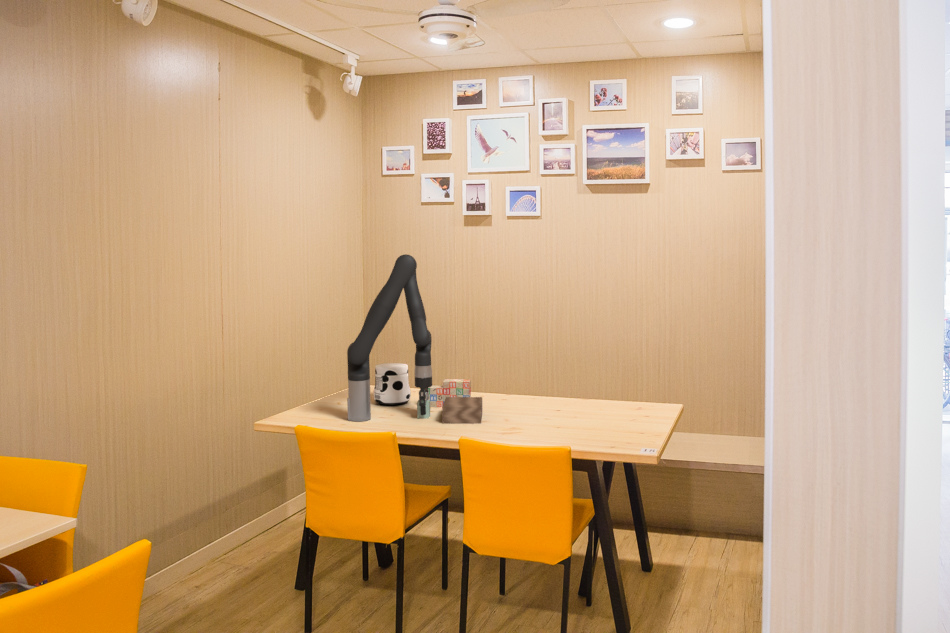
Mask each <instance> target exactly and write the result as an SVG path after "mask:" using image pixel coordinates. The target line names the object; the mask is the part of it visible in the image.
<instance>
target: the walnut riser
mask: <svg viewBox="0 0 950 633" xmlns="http://www.w3.org/2000/svg"><path fill="white" fill-rule="evenodd" d="M441 411H442V413H441V414H442V415H441V416H442V418H441V419H442V424H482V419H483V418H482V417H483V397H482V396H474V397H473V396H471V397H446V398H445V401H444V404H443V406H442V408H441Z"/></svg>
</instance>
